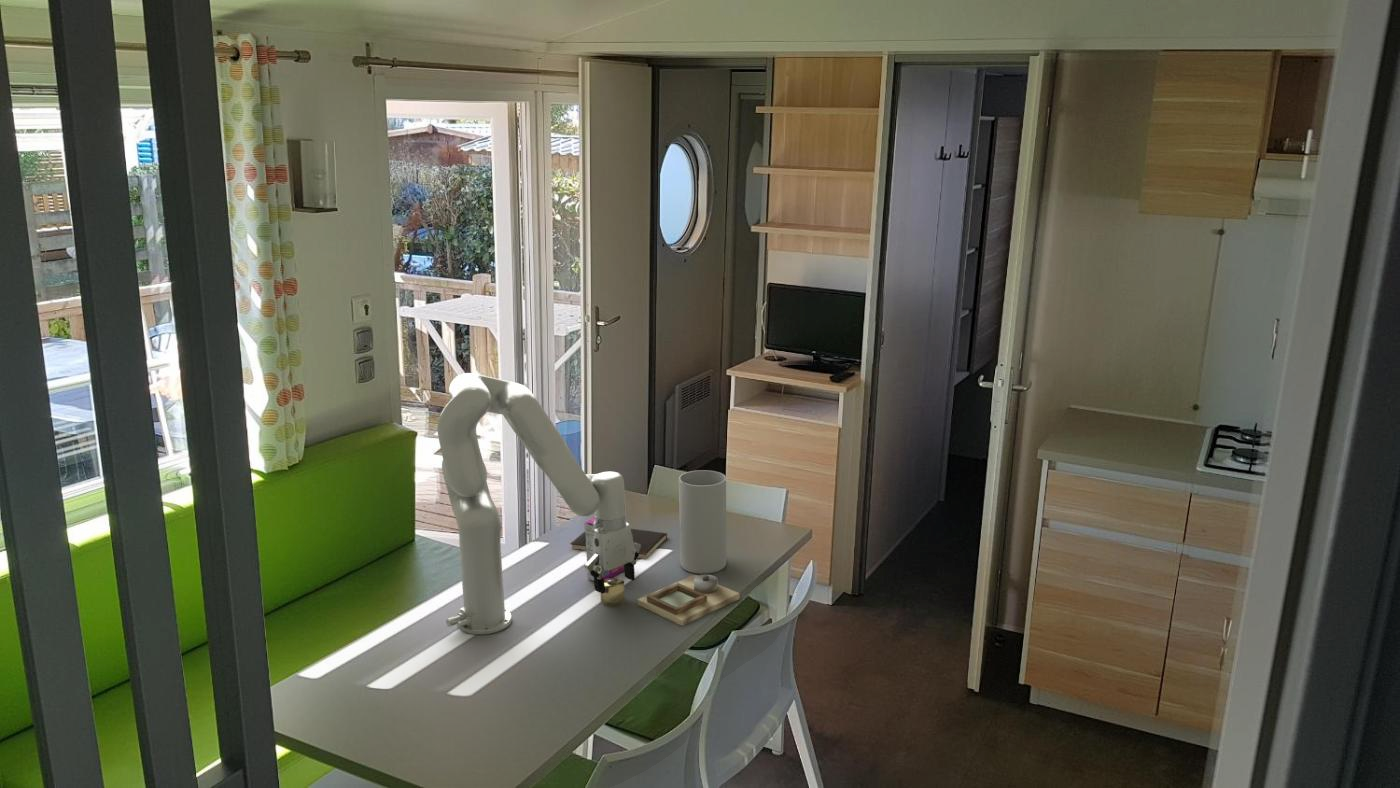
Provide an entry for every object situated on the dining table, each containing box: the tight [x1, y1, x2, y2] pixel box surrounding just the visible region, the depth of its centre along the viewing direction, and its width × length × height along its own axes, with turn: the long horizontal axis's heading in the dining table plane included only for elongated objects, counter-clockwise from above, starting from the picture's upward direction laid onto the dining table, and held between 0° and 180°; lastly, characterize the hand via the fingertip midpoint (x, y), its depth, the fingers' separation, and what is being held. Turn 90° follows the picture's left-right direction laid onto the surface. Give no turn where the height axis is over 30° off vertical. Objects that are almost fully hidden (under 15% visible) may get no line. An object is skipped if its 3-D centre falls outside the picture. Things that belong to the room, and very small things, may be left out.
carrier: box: [637, 574, 740, 626], centre depth 257 cm, size 20×16×5 cm
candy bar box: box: [584, 517, 624, 582], centre depth 272 cm, size 11×5×16 cm, turn 143°
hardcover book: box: [569, 527, 668, 560], centre depth 294 cm, size 16×23×2 cm
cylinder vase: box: [678, 469, 728, 575], centre depth 276 cm, size 12×12×25 cm
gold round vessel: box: [600, 577, 626, 608], centre depth 258 cm, size 6×6×6 cm
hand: (615, 585), depth 258 cm, fingers open, 9 cm apart
